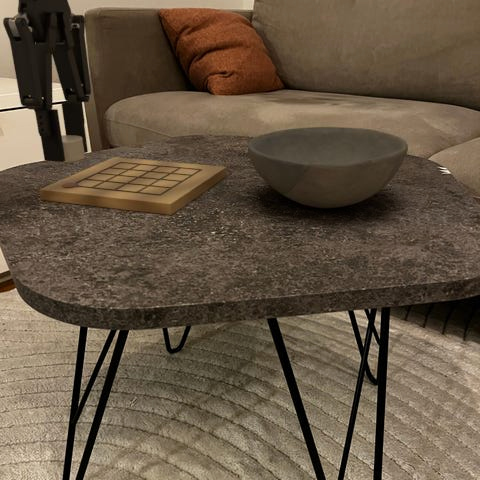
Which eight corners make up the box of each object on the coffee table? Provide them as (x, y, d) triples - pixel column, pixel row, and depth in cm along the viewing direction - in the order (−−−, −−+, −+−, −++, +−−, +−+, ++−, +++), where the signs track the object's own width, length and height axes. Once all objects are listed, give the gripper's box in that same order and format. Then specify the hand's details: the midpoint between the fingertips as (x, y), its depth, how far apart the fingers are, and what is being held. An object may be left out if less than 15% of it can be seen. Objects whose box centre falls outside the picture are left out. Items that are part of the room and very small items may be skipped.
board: (40, 200, 82) (39, 188, 81) (114, 166, 98) (113, 156, 98) (171, 215, 76) (170, 202, 75) (226, 176, 93) (226, 166, 92)
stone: (41, 160, 80) (38, 141, 78) (62, 153, 84) (59, 134, 82) (72, 163, 78) (69, 143, 77) (91, 155, 82) (89, 136, 81)
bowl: (429, 218, 74) (439, 154, 71) (269, 231, 71) (270, 163, 67) (364, 175, 93) (369, 122, 89) (234, 183, 89) (233, 128, 85)
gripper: (14, -50, 61) (50, 174, 72) (104, -41, 76) (123, 144, 87) (-44, -47, 64) (0, 169, 75) (55, -39, 78) (79, 141, 89)
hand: (66, 155), depth 81 cm, fingers closed on stone, 5 cm apart
